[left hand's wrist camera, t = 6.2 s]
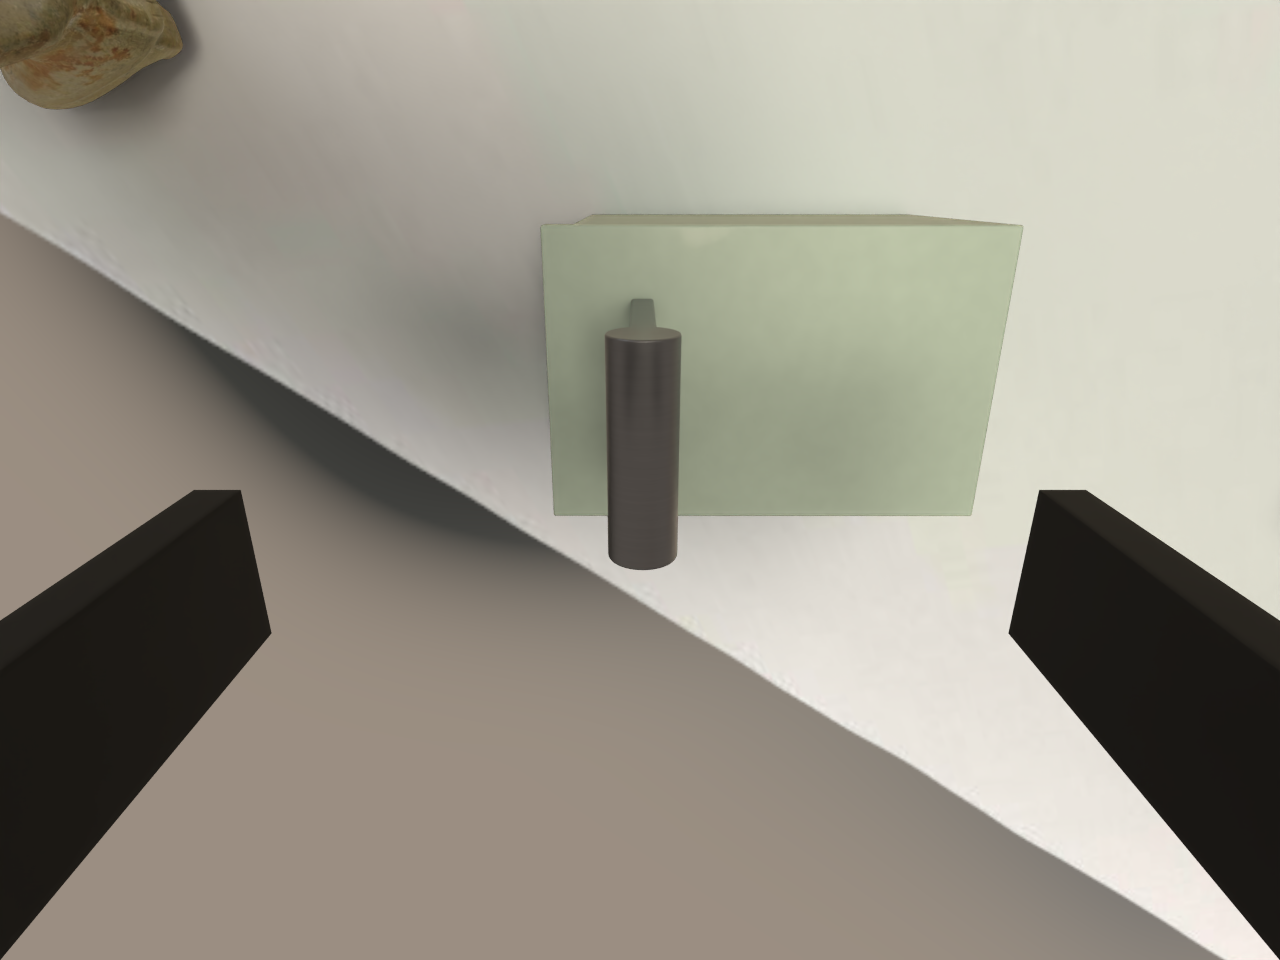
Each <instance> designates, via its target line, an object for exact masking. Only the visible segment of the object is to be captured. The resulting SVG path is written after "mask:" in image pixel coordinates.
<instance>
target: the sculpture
mask: <svg viewBox="0 0 1280 960" xmlns="http://www.w3.org/2000/svg"><path fill="white" fill-rule="evenodd" d="M182 47H183V43H182V39H181V36H180V34H179V32H178V29H177V27H176V24H175V22H174V20H173V18H172V16H171V14H170V13H169V12H168V11H167V10H165V9H164V8H163V7H162V6H161V5H160V4H159V3H158V2H157V1H156V0H0V69H1V71H2V73H3V76H4V78H5V80H6V81H7V83H8V85H9V86H10V87H11V88H12V89H13V90H14V91H15V92H16V93H17V94H18V95H19V96H21V97H22V98H24V99H25V100H27V101H28V102H30V103H33V104H35V105H38V106H40V107H43V108H48V109H68V108H73V107H78V106H82V105H84V104H87V103H89V102H92V101H94V100H96V99H97V98H99V97H101V96H103V95H104V94H106V93H108V92H109V91H111V90H112V89H114V88H115V87H117V86H118V85H120V84H121V83H123V82H124V81H126V80H127V79H128V78H130V77H131V76H132V75H133V74H135V73H136V72H138V71H139V70H141V69H142V68H144V67H146V66H148V65H150V64H152V63H154V62H156V61H159V60H161V59H170V58H172V57H174V56H176V55H177V54H178V53H179V52H180V51H181V50H182Z"/></svg>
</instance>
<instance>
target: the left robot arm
mask: <svg viewBox="0 0 1280 960" xmlns="http://www.w3.org/2000/svg"><path fill="white" fill-rule="evenodd" d="M270 634H271V629H270V624H269V620H268V615H267V610H266V606H265V601H264V597H263V592H262V587H261V582H260V578H259V573H258V568H257V564H256V559H255V555H254V550H253V545H252V541H251V536H250V531H249V527H248V522H247V517H246V513H245V508H244V503H243V499H242V494H241V490H193V491H192V492H190V493H189V494H188V495H186V496H185V497H183V498H182V499H180V500H179V501H177V502H176V503H174V504H173V505H171V506H170V507H168V508H167V509H165V510H164V511H162V512H161V513H159V514H158V515H156V516H155V517H153V518H152V519H150V520H149V521H147V522H146V523H145V524H143V525H141V526H140V527H139V528H137V529H136V530H134V531H133V532H131V533H130V534H128V535H127V536H125V537H124V538H122V539H121V540H119V541H118V542H116V543H115V544H113V545H112V546H110V547H109V548H107V549H106V550H104V551H103V552H102V553H100V554H99V555H97V556H96V557H94V558H93V559H91V560H90V561H88V562H87V563H85V564H84V565H82V566H81V567H79V568H78V569H76V570H75V571H73V572H72V573H70V574H69V575H67V576H66V577H64V578H63V579H61V580H60V581H58V582H57V583H55V584H54V585H53V586H51V587H49V588H48V589H47V590H45V591H44V592H42V593H41V594H39V595H38V596H36V597H35V598H33V599H32V600H30V601H29V602H27V603H26V604H24V605H23V606H21V607H20V608H18V609H17V610H15V611H14V612H12V613H11V614H9V615H8V616H7V617H5V618H4V619H2V620H1V621H0V960H1V958H2V957H3V956H4V955H5V954H6V952H7V951H8V950H9V949H10V948H11V946H12V945H13V944H14V943H15V942H16V940H17V939H18V938H19V937H20V935H21V934H22V933H23V932H24V931H25V929H26V928H27V927H28V926H29V925H30V923H31V922H32V921H33V920H34V919H35V917H36V916H37V915H38V914H39V913H40V911H41V910H42V909H43V908H44V907H45V905H46V904H47V903H48V902H49V901H50V899H51V898H52V897H53V896H54V895H55V893H56V892H57V891H58V890H59V889H60V887H61V886H62V885H63V884H64V883H65V881H66V880H67V879H68V878H69V877H70V875H71V874H72V873H73V872H74V871H75V869H76V868H77V867H78V866H79V864H80V863H81V862H82V861H83V860H84V858H85V857H86V856H87V855H88V854H89V852H90V851H91V850H92V849H93V848H94V846H95V845H96V844H97V843H98V842H99V840H100V839H101V838H102V837H103V836H104V834H105V833H106V832H107V831H108V830H109V828H110V827H111V826H112V825H113V824H114V822H115V821H116V820H117V819H118V818H119V816H120V815H121V814H122V813H123V812H124V810H125V809H126V808H127V807H128V805H129V804H130V803H131V802H132V801H133V799H134V798H135V797H136V796H137V795H138V793H139V792H140V791H141V790H142V789H143V787H144V786H145V785H146V784H147V782H148V781H149V780H150V779H151V778H152V777H153V775H154V774H155V773H156V772H157V771H158V769H159V768H160V767H161V766H162V765H163V763H164V762H165V761H166V760H167V759H168V757H169V756H170V755H171V754H172V752H173V751H174V750H175V749H176V748H177V746H178V745H179V744H180V743H181V742H182V740H183V739H184V738H185V737H186V736H187V734H188V733H189V732H190V731H191V730H192V728H193V727H194V726H195V725H196V724H197V722H198V721H199V720H200V719H201V718H202V716H203V715H204V714H205V713H206V711H207V710H208V709H209V708H210V707H211V706H212V704H213V703H214V702H215V701H216V700H217V698H218V697H219V696H220V695H221V693H222V692H223V691H224V690H225V689H226V687H227V686H228V685H229V684H230V683H231V681H232V680H233V679H234V678H235V677H236V675H237V674H238V673H239V672H240V670H241V669H242V668H243V667H244V666H245V665H246V663H247V662H248V661H249V660H250V658H251V657H252V656H253V655H254V654H255V652H256V651H257V650H258V649H259V648H260V647H261V645H262V644H263V643H264V642H265V640H266V639H267V638H268V637H269V636H270ZM1009 634H1010V636H1011V637H1012V638H1013V639H1014V640H1015V642H1016V643H1017V644H1018V645H1019V647H1020V648H1021V649H1022V650H1023V651H1024V653H1025V654H1026V655H1027V656H1028V657H1029V659H1030V660H1031V661H1032V662H1033V663H1034V665H1035V666H1036V667H1037V668H1038V669H1039V671H1040V672H1041V673H1042V674H1043V675H1044V677H1045V678H1046V679H1047V680H1048V681H1049V683H1050V684H1051V685H1052V686H1053V687H1054V689H1055V690H1056V691H1057V692H1058V693H1059V695H1060V696H1061V697H1062V698H1063V700H1064V701H1065V702H1066V703H1067V704H1068V706H1069V707H1070V708H1071V709H1072V710H1073V712H1074V713H1075V714H1076V715H1077V716H1078V718H1079V719H1080V720H1081V721H1082V722H1083V724H1084V725H1085V726H1086V727H1087V728H1088V730H1089V731H1090V732H1091V733H1092V734H1093V736H1094V737H1095V738H1096V739H1097V740H1098V742H1099V743H1100V744H1101V745H1102V746H1103V748H1104V749H1105V750H1106V751H1107V753H1108V754H1109V755H1110V756H1111V757H1112V759H1113V760H1114V761H1115V762H1116V763H1117V765H1118V766H1119V767H1120V768H1121V769H1122V771H1123V772H1124V773H1125V774H1126V775H1127V777H1128V778H1129V779H1130V780H1131V781H1132V783H1133V784H1134V785H1135V786H1136V787H1137V789H1138V790H1139V791H1140V792H1141V793H1142V795H1143V796H1144V797H1145V798H1146V799H1147V801H1148V802H1149V803H1150V804H1151V805H1152V807H1153V808H1154V809H1155V810H1156V812H1157V813H1158V814H1159V815H1160V816H1161V818H1162V819H1163V820H1164V821H1165V822H1166V824H1167V825H1168V826H1169V827H1170V828H1171V830H1172V831H1173V832H1174V833H1175V834H1176V836H1177V837H1178V838H1179V839H1180V840H1181V842H1182V843H1183V844H1184V845H1185V846H1186V848H1187V849H1188V850H1189V851H1190V852H1191V854H1192V855H1193V856H1194V857H1195V858H1196V860H1197V861H1198V862H1199V863H1200V865H1201V866H1202V867H1203V868H1204V869H1205V871H1206V872H1207V873H1208V874H1209V875H1210V877H1211V878H1212V879H1213V880H1214V881H1215V883H1216V884H1217V885H1218V886H1219V887H1220V889H1221V890H1222V891H1223V892H1224V893H1225V895H1226V896H1227V897H1228V898H1229V899H1230V901H1231V902H1232V903H1233V904H1234V905H1235V907H1236V908H1237V909H1238V910H1239V911H1240V913H1241V914H1242V915H1243V916H1244V917H1245V919H1246V920H1247V921H1248V922H1249V924H1250V925H1251V926H1252V927H1253V928H1254V930H1255V931H1256V932H1257V933H1258V934H1259V936H1260V937H1261V938H1262V939H1263V940H1264V942H1265V943H1266V944H1267V945H1268V946H1269V948H1270V949H1271V950H1272V951H1273V952H1274V954H1275V955H1276V956H1277V957H1278V958H1279V960H1280V621H1279V620H1278V619H1276V618H1275V617H1274V616H1272V615H1271V614H1269V613H1268V612H1266V611H1265V610H1263V609H1262V608H1260V607H1259V606H1257V605H1256V604H1254V603H1253V602H1251V601H1250V600H1248V599H1247V598H1245V597H1244V596H1242V595H1241V594H1239V593H1238V592H1236V591H1235V590H1233V589H1232V588H1230V587H1229V586H1228V585H1226V584H1225V583H1223V582H1222V581H1220V580H1219V579H1217V578H1216V577H1214V576H1213V575H1211V574H1210V573H1208V572H1207V571H1205V570H1204V569H1202V568H1201V567H1199V566H1198V565H1196V564H1195V563H1193V562H1192V561H1190V560H1189V559H1187V558H1186V557H1185V556H1183V555H1182V554H1180V553H1179V552H1177V551H1176V550H1174V549H1173V548H1171V547H1170V546H1168V545H1167V544H1165V543H1164V542H1162V541H1161V540H1159V539H1158V538H1156V537H1155V536H1153V535H1152V534H1150V533H1149V532H1147V531H1146V530H1144V529H1143V528H1141V527H1140V526H1139V525H1137V524H1136V523H1134V522H1133V521H1131V520H1130V519H1128V518H1127V517H1125V516H1124V515H1122V514H1121V513H1119V512H1118V511H1116V510H1115V509H1113V508H1112V507H1110V506H1109V505H1107V504H1106V503H1104V502H1103V501H1101V500H1100V499H1098V498H1097V497H1095V496H1094V495H1093V494H1091V493H1090V492H1088V491H1087V490H1039V494H1038V499H1037V503H1036V508H1035V513H1034V517H1033V522H1032V527H1031V531H1030V536H1029V540H1028V545H1027V550H1026V554H1025V559H1024V564H1023V568H1022V573H1021V578H1020V582H1019V587H1018V592H1017V596H1016V601H1015V606H1014V610H1013V615H1012V620H1011V624H1010V629H1009Z"/></svg>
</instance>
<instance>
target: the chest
mask: <svg viewBox="0 0 1280 960" xmlns="http://www.w3.org/2000/svg"><path fill="white" fill-rule="evenodd" d="M575 224H1003V223H992V222H981V221H971V220H960V219H949V218H939V217H928V216H918V215H591V216H589V217H587V218H585V219H583V220H581V221H579V222H577V223H575Z"/></svg>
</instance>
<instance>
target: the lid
mask: <svg viewBox="0 0 1280 960" xmlns="http://www.w3.org/2000/svg"><path fill="white" fill-rule="evenodd" d="M1022 232H1023V226H1022V225H1014V224H544V225H542V226H541V248H542V270H543V291H544V312H545V334H546V355H547V377H548V398H549V419H550V441H551V462H552V483H553V505H554V515H555V516H608V553H609V557H610V559H611V560H612V561H613V562H614V563H615V564H617V565H619V566H622V567H625V568H629V569H635V570H651V569H657V568H661V567H664V566H666V565H668V564H670V563H672V562H673V561H674V560H675V558H676V556H677V533H678V516H971V514H972V509H973V503H974V498H975V492H976V487H977V481H978V476H979V470H980V464H981V459H982V453H983V448H984V442H985V437H986V431H987V426H988V420H989V415H990V409H991V404H992V398H993V393H994V387H995V382H996V376H997V371H998V365H999V359H1000V354H1001V348H1002V343H1003V337H1004V332H1005V326H1006V321H1007V315H1008V310H1009V304H1010V299H1011V293H1012V288H1013V282H1014V277H1015V271H1016V266H1017V260H1018V255H1019V249H1020V243H1021V238H1022Z"/></svg>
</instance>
